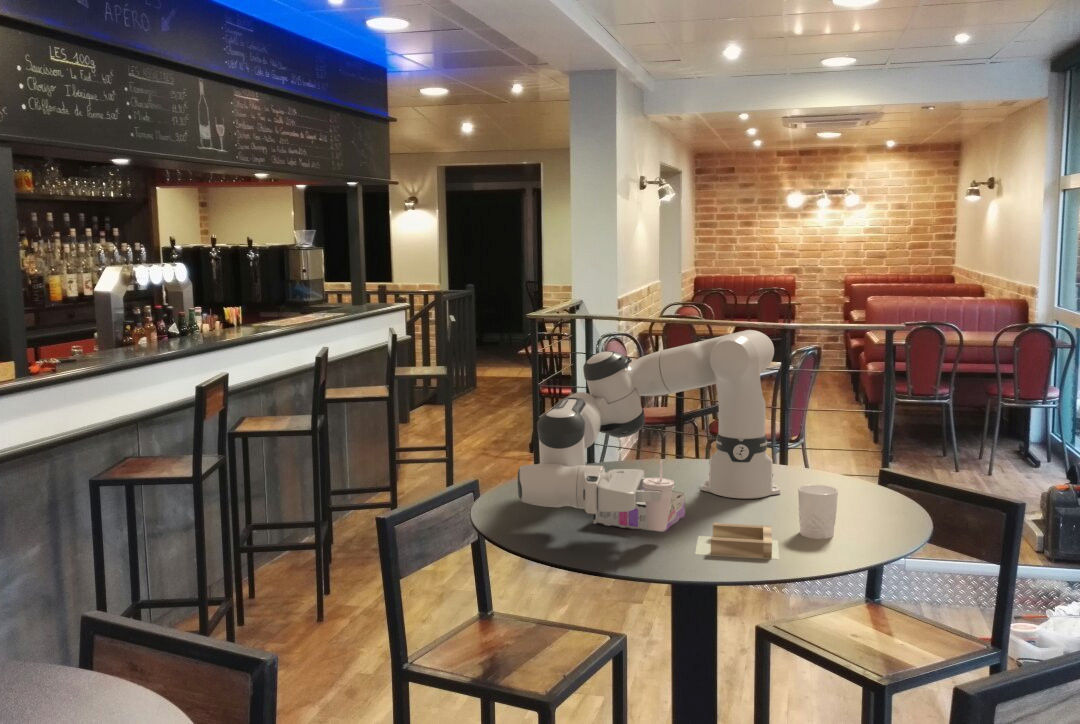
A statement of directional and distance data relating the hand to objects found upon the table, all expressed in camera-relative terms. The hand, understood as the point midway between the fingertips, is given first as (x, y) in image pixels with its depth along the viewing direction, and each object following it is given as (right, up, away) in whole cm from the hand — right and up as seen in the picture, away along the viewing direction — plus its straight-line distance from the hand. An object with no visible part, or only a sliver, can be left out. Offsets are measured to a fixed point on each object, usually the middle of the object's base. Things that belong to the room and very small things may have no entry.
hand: (662, 490), depth 200 cm
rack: (+15, -11, -1) cm, 18 cm away
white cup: (+33, -11, +7) cm, 35 cm away
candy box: (-10, -6, +22) cm, 25 cm away
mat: (+15, -12, -1) cm, 19 cm away
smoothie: (-1, -8, +1) cm, 8 cm away
